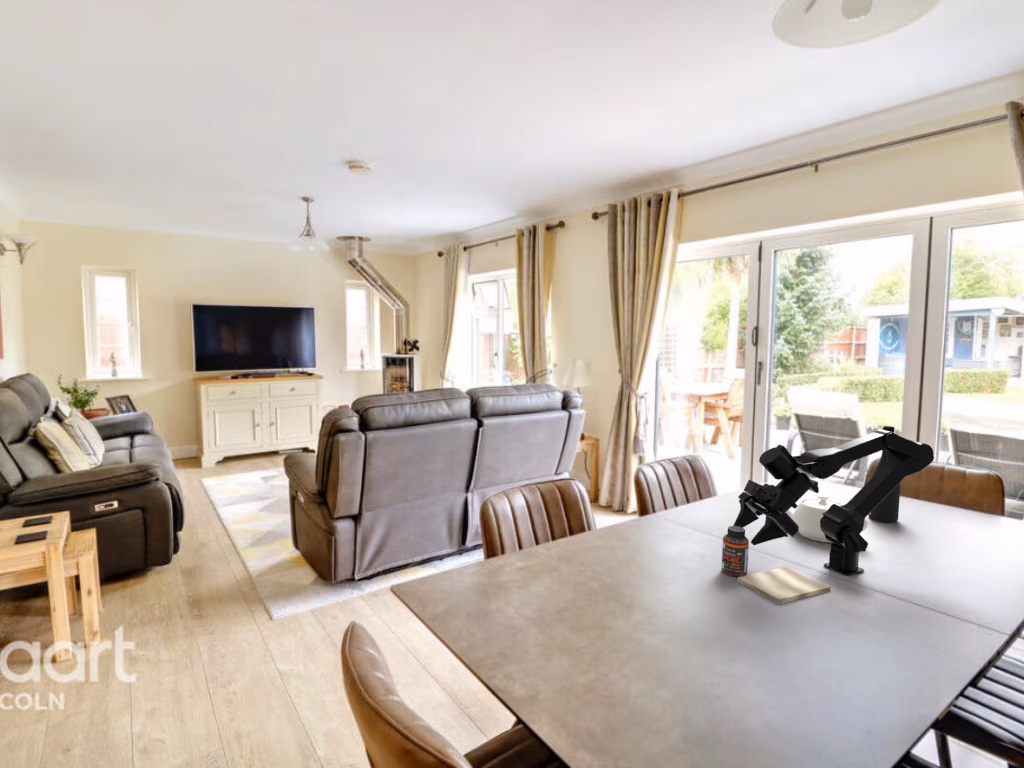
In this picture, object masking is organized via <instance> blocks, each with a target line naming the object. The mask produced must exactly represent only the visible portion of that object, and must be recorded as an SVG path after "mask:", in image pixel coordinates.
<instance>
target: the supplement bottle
mask: <svg viewBox="0 0 1024 768" xmlns="http://www.w3.org/2000/svg"><path fill="white" fill-rule="evenodd" d="M749 544H750V542H749V538H748V537H747V536H746V529H745V528H744V527H743V528H742V527H739V526H733V525H730V526H727V533H726V534H724V535H723V538H722V550H721V551H722V552H721V553H722V554H721V571H722V573H724V574H725V575H727V576H730V577H733V578H734V577H736V578H738V577H741V576H746V575H748V566H749V565H748V563H749Z"/></svg>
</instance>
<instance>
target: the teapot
mask: <svg viewBox="0 0 1024 768" xmlns="http://www.w3.org/2000/svg"><path fill="white" fill-rule="evenodd" d="M817 497H818V498H804V499H801V500H800V501H799V503H798V504H797V505H798V506H797V507H796V508H795V509H794V508H792V507H791V508H790V509H789V510H788V511H787V512H786V513H787V514H788V515H789V516H790V517H791V518H792V520H793V521H794V522H795V523H796V524H797V525H798V526H799V531H798V533H799V534H800V535H801V536H802V537H804V538H807V539H809V540H813V541H817V542H820V543H821V542H822V543H832V542H831V541H829V540H827V539H826V538H825V535H824V533H823V532H822V530H821V528H820V520H821V518H822V517H823V516H824V515H822V514H823V513H825V512H826V511H827V510H828V509H829V508H830V506H831V505H833V504H836V505H838V506H843V505H844V504H842V503H839V502H837V501H832V500H828V499H829V498H830V497H829V495H826V494H818V495H817ZM868 525H869V522H868V519H867V517H866V518H865V520H864V526H863V530H862V531H861V533H863V532H864V531H865V530H866V529H867V528H868Z"/></svg>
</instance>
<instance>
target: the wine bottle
mask: <svg viewBox="0 0 1024 768" xmlns="http://www.w3.org/2000/svg"><path fill="white" fill-rule="evenodd" d="M882 430H886V431H890V432H893V433H895V427H894V426H892V425H884V426H883V427H882ZM888 452H889V451H887V450H885V449H884V450H881V456H880V459H879V461H878V462H877V465H876V467H875V469H874V471H873V472H872V475H871V478H870V480H871V479H872V478H873V477H874V476H875V474H876V473H877V472H878V471H879V470H880V469H881V468H882V467H883V466H884V465H885V464H886V462H887V456H888ZM900 496H901V482H900V483H899V484H898V485H897V486H896V487H895V488H894V489H893V490H892V491H891V492H890V493H889V494H888V495H887V496H886V497H885V498H884V499H883V500H882V501H881V502H880V503H879V504H878V505H877V506H876V507H875V508H874V509H873V510H872V511H871V512H870V513H869V514H868V515H867V516H868V517H869V518H870V519H872V520H873V521H876V522H879V521H880V523H889V524H890V523H891V524H892V523H896V522H897V521H898V520H899V513H900V512H899V511H900V499H901V497H900Z"/></svg>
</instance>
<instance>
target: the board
mask: <svg viewBox="0 0 1024 768" xmlns="http://www.w3.org/2000/svg"><path fill="white" fill-rule="evenodd" d="M737 582H738V583H739V582H740V584H741V583H742V585H743V584H744V585H743V586H745V585H746V586H745V587H747V586H748V587H747V588H749V587H750V588H749V589H751V590H752V589H753V590H752V591H754V590H755V592H756V591H757V592H756V593H758V592H759V593H758V594H760V593H761V594H760V595H762V594H763V595H762V596H764V595H765V596H766V597H765V596H764V597H765V598H767V597H768V599H769V598H770V600H771V599H772V600H771V601H773V600H774V601H773V602H775V601H776V602H775V603H777V602H778V603H779V604H778V603H777V604H778V605H781V604H784V603H783V602H785V603H788V601H789V602H793V601H797V600H800V598H801V599H803V598H804V597H805V598H808V596H809V597H813V596H816V594H817V595H821V594H824V593H827V592H831V588H832V587H831V585H829V584H825V583H824V582H821V581H819V580H817V579H815V578H812V577H810V576H808V575H806V574H804V573H802V572H799V571H797V570H795V569H793V568H790V567H789V566H782V567H779V568H778V567H777V568H774V569H770V570H765V571H761V572H756V573H751V574H746V575H745V576H741V577H737ZM805 598H804V599H805ZM796 599H797V600H796ZM792 600H793V601H792ZM780 603H781V604H780Z"/></svg>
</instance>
